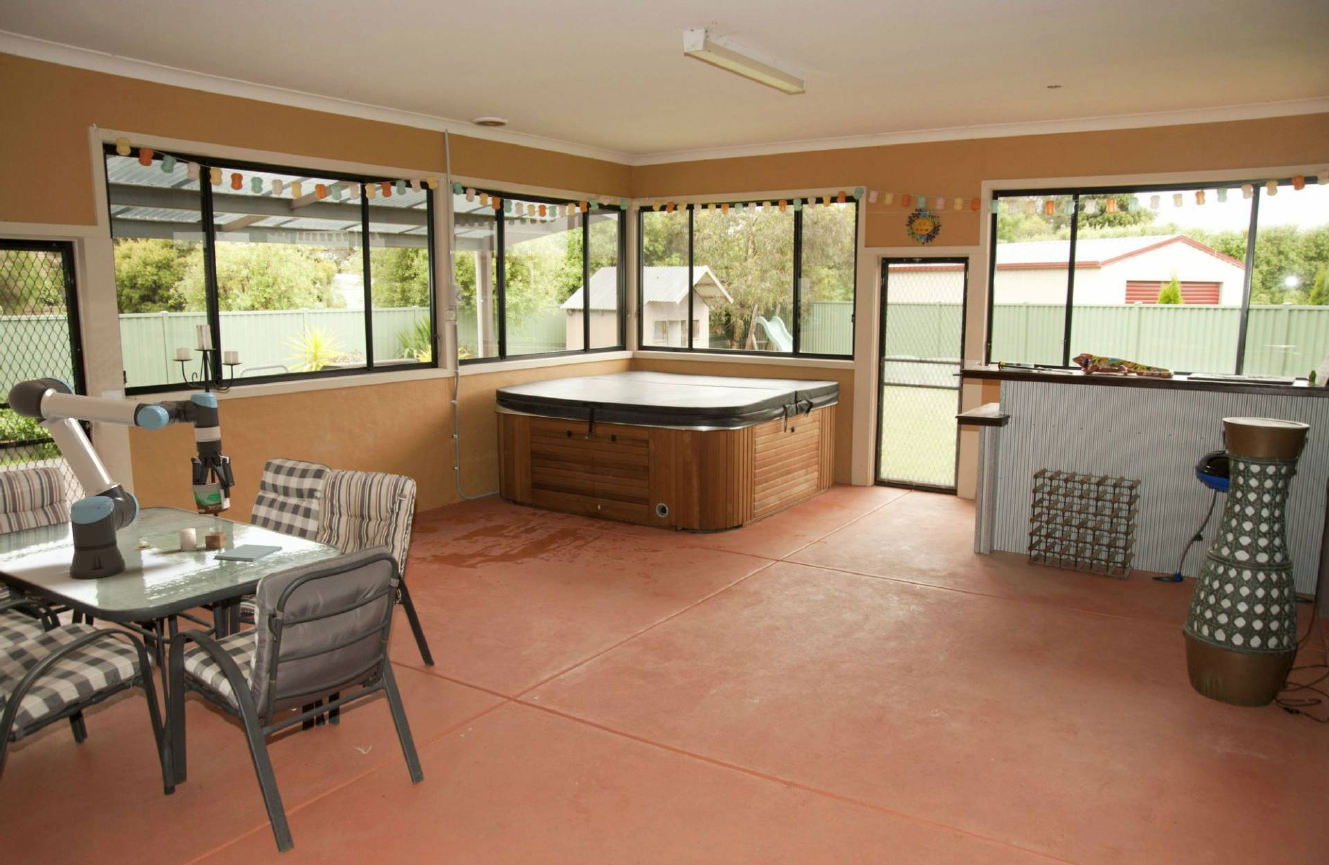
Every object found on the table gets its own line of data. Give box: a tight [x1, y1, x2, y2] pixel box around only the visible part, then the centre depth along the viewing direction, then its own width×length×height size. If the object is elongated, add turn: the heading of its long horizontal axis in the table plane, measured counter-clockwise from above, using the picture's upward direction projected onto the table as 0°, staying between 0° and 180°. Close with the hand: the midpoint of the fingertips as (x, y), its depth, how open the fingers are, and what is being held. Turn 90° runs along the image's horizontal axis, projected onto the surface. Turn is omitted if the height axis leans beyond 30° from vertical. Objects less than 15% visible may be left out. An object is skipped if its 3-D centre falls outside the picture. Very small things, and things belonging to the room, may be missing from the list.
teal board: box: [214, 543, 283, 562], centre depth 315 cm, size 15×15×1 cm
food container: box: [190, 482, 229, 515], centre depth 309 cm, size 12×6×10 cm, turn 143°
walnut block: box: [204, 531, 228, 550], centre depth 323 cm, size 5×5×5 cm
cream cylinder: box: [178, 527, 198, 552], centre depth 321 cm, size 5×5×7 cm
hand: (216, 507), depth 309 cm, fingers closed on food container, 7 cm apart
